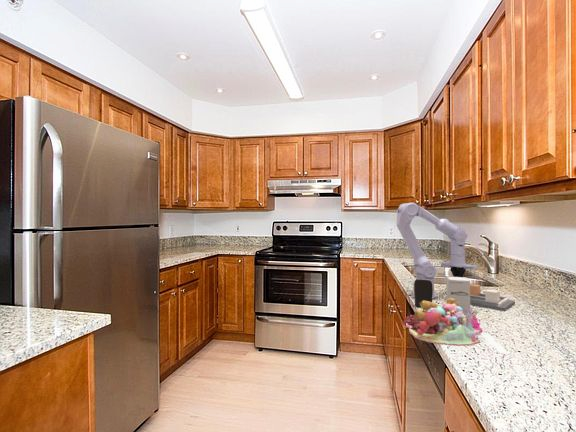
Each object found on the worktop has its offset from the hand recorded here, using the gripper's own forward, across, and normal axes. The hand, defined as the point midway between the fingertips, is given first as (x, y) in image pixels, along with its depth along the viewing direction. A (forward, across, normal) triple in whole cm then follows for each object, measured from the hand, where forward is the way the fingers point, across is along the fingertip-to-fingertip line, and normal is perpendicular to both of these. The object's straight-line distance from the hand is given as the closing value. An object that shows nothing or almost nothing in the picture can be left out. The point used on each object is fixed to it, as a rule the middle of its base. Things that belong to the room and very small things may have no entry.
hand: (458, 283), depth 142 cm
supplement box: (+6, -8, +22) cm, 24 cm away
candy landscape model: (+6, -13, +48) cm, 50 cm away
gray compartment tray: (+6, -11, +3) cm, 13 cm away
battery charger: (+6, +4, +27) cm, 28 cm away
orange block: (+4, -6, 0) cm, 8 cm away
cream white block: (+4, -15, +7) cm, 17 cm away
